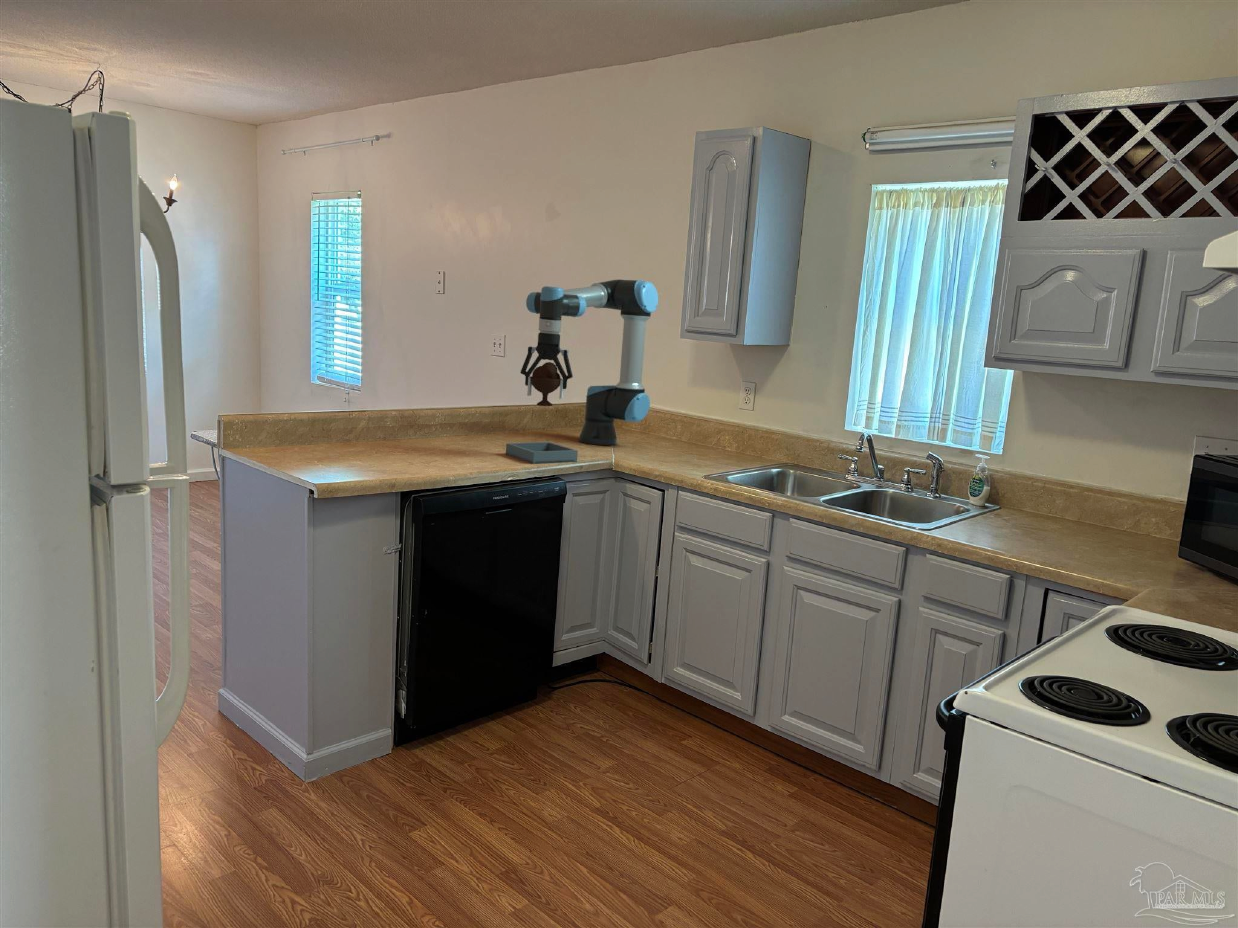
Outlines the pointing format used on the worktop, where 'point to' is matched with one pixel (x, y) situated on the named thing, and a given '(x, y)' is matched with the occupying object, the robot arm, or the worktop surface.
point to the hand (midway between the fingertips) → (545, 397)
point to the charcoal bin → (541, 452)
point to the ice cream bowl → (545, 381)
